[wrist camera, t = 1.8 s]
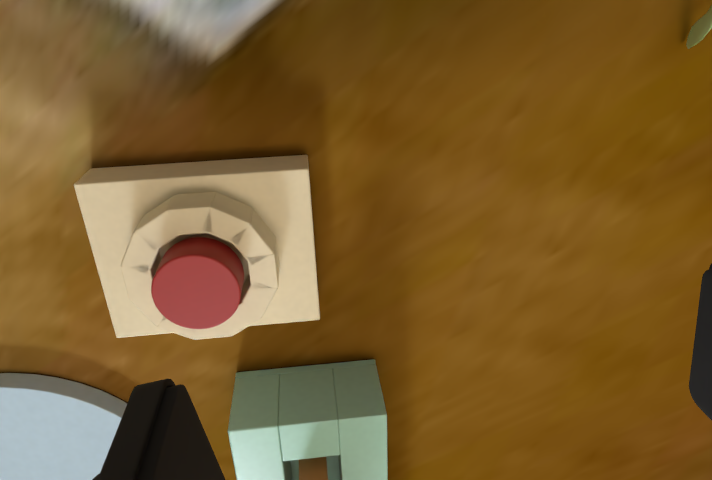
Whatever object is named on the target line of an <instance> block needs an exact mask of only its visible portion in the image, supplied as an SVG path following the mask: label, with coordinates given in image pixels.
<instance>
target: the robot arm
mask: <svg viewBox="0 0 712 480" xmlns="http://www.w3.org/2000/svg"><path fill="white" fill-rule="evenodd" d="M689 389H690V393H691V396H692V398H693V400H694V401H695V403H696V404H697V405H698V407H699V408H700V409H701V410H702V411H703V412H704V413H705V414H706V415H707V416H708V417H709V418H710V419H711V420H712V264H711V265H710V268H709V270H707V271H705V273H704V274H703V277H702V284H701V292H700V300H699V308H698V316H697V325H696V333H695V341H694V349H693V357H692V365H691V373H690V381H689ZM92 480H225V478H224V476H223V473H222V471H221V469H220V466H219V464H218V462H217V459H216V457H215V455H214V452H213V450H212V448H211V445H210V443H209V441H208V438H207V436H206V434H205V431H204V429H203V427H202V424H201V422H200V420H199V417H198V415H197V413H196V410H195V408H194V406H193V403H192V401H191V399H190V396H189V394H188V392H187V390H186V388H185V386H184V385H176V386H175V384H174V382H173V381H172V380H171V379H164V380H160V381H155V382H151V383H146V384H141V385H137V386H136V387H135V388H134V389H133V391H132V393H131V396H130V398H129V401H128V403H127V406H126V408H125V411H124V413H123V416H122V419H121V421H120V424H119V426H118V429H117V431H116V434H115V436H114V439H113V441H112V444H111V446H110V449H109V451H108V454H107V457H106V459H105V462H104V464H103V467H102V469H101V472H100V474H98V475H97V476H95V477H94V478H93V479H92Z"/></svg>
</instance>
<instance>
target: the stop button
mask: <svg viewBox="0 0 712 480" xmlns="http://www.w3.org/2000/svg"><path fill="white" fill-rule="evenodd" d="M243 281H244V269H243V265H242V263H241V261H240V259H239V257H238V256H237V254H236V253H235V252H234V251H233V250H232V249H231V248H230V247H228V246H227V245H225V244H224V243H222V242H220V241H218V240H215V239H211V238H206V237H193V238H188V239H184V240H182V241H179V242H178V243H176V244H174V245H173V246H172V247H170V248H169V249H168V250H167V252H166V253H165V254H164V256H163V258H162V260H161V262H160V264H159V266H158V269H157V271H156V273H155V275H154V277H153V280H152V285H151V294H152V298H153V301H154V304H155V306H156V307H157V309H158V310H159V312H160V313H161V314H162V315H163V316H164V317H165V318H166V319H168V320H169V321H171V322H173V323H174V324H176V325H179V326H182V327H185V328H190V329H207V328H212V327H215V326H218V325H220V324H222V323H224V322H225V321H226V320H228V319H229V318H230V317H231V316H232V315H233V314H234V313H235V311H236V310H237V308H238V306H239V303H240V299H241V294H242V288H243Z"/></svg>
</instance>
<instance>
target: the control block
mask: <svg viewBox="0 0 712 480" xmlns="http://www.w3.org/2000/svg"><path fill="white" fill-rule="evenodd" d="M74 187H75V191H76V195H77V198H78V202H79V205H80V209H81V212H82V216H83V220H84V223H85V227H86V230H87V234H88V237H89V241H90V245H91V248H92V252H93V255H94V259H95V262H96V266H97V270H98V273H99V277H100V280H101V284H102V287H103V291H104V294H105V298H106V302H107V305H108V309H109V312H110V316H111V319H112V323H113V327H114V330H115V334H116V337H117V338H120V337H132V336H143V335H154V334H165V333H176V334H179V335H182V336H185V337H188V338H191V339H194V340H197V339H208V338H219V337H230V336H233V335H235V334H236V333H238V332H240V331H241V330H243V329H245V328H246V327H248V326H256V325H267V324H278V323H289V322H301V321H312V320H320V310H319V297H318V283H317V270H316V257H315V244H314V230H313V217H312V204H311V191H310V178H309V165H308V156H307V155H294V156H279V157H263V158H247V159H232V160H216V161H200V162H185V163H169V164H153V165H138V166H122V167H106V168H91V169H90V170H89V171H88V172H87V173H86V174H84V175H83V176H82V177H81V178H80V179H79V180H78V181H77V182H76V183H75V184H74ZM193 237H206V238H211V239H215V240H218V241H220V242H222V243H224V244H225V245H227V246H228V247H230V248H231V249H232V250H233V251H234V252H235V253H236V254H237V256H238V257H239V259H240V261H241V263H242V265H243V269H244V281H243V288H242V294H241V299H240V303H239V306H238V308H237V310H236V311H235V313H234V314H233V315H232V316H231V317H230V318H229V319H228V320H226V321H225V322H224V323H222V324H220V325H218V326H215V327H212V328H207V329H190V328H185V327H182V326H179V325H176V324H174V323H173V322H171V321H169V320H168V319H166V318H165V317H164V316H163V315H162V314H161V313H160V312H159V310H158V309H157V307H156V306H155V304H154V301H153V298H152V294H151V285H152V280H153V277H154V275H155V273H156V271H157V269H158V266H159V264H160V262H161V260H162V258H163V256H164V254H165V253H166V252H167V250H168V249H169V248H170V247H172V246H173V245H174V244H176V243H178V242H179V241H182V240H184V239H188V238H193Z"/></svg>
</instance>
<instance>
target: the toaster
mask: <svg viewBox="0 0 712 480" xmlns="http://www.w3.org/2000/svg"><path fill="white" fill-rule="evenodd" d="M228 435H229V441H230V446H231V451H232V457H233V462H234V467H235V473H236V478H237V480H299V460H300V459H309V458H318V457H327V469H328V480H388V468H387V413H386V408H385V404H384V399H383V395H382V390H381V385H380V381H379V376H378V372H377V367H376V362H375V359H371V360H361V361H351V362H340V363H330V364H319V365H309V366H298V367H288V368H277V369H267V370H256V371H246V372H237V373H236V377H235V385H234V392H233V398H232V405H231V412H230V419H229V426H228Z"/></svg>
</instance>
